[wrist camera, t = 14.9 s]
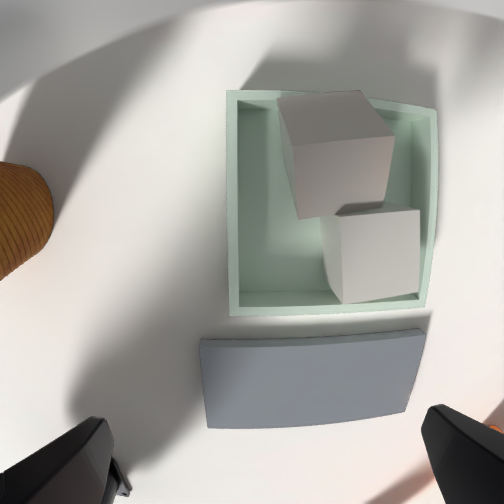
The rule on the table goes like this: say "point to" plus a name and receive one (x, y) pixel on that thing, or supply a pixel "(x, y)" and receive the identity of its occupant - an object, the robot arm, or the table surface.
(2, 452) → the table surface
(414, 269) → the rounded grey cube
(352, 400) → the slate board
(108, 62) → the table surface
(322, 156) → the grey stone cube
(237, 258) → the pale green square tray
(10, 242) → the disposable coffee cup
